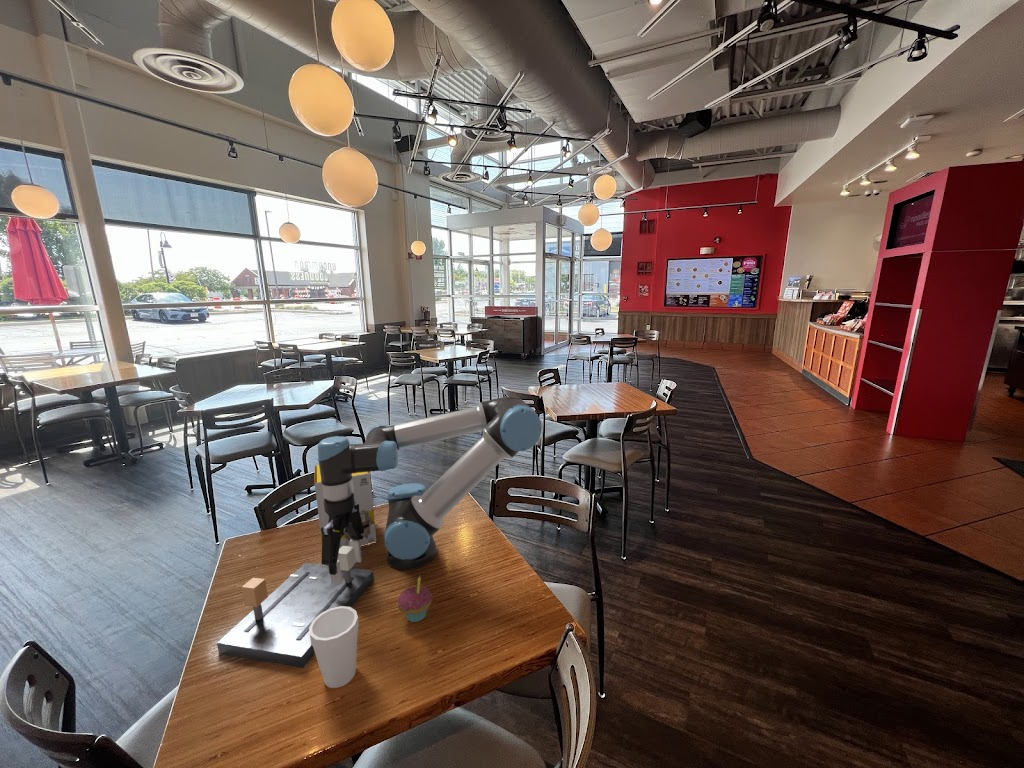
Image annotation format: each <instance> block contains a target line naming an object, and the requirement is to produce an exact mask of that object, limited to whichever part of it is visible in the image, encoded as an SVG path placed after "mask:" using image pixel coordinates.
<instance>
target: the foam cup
mask: <svg viewBox="0 0 1024 768" xmlns="http://www.w3.org/2000/svg"><path fill="white" fill-rule="evenodd" d="M359 627H360V624H359V616H358V613H357V610H356V609H354V608H353V607H352V608H351V607H345V606H339V607H335V608H331V609H329V610H327V611H325V612H323V613H321V614H320V615H318V616H317V617H316V618H315V619H314V620H313V621H312V623H311V625H310V627H309V632H310V640H311V645H312V646H313V648H314V652H315V654H314V656H315V658H316V661H317V663H318V667H319V670H320V673H321V677H322V679H323V682H324V685H326V686H327V687H328V688H329V689H337V688H341V687H343V686H346V685H347V684H348V683H350V682H351V681H352V680H353V678H354V677H355V674H356V670H357V655H358V654H357V653H358V636H359V635H358V633H359Z"/></svg>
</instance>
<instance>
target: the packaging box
mask: <svg viewBox="0 0 1024 768" xmlns="http://www.w3.org/2000/svg"><path fill="white" fill-rule="evenodd" d="M371 479H372V478H371V472H360V473H352V480H353V488H354V492H353V493H354V499H355V504H359V512H360V516H361V520H362V524H363V528H364V533H363V534H361V535H363V539H360V546H361V545H365V544H368V543H372V542H376V541H377V531H376V522H375V520H376V519H375V512H374V511H375V510H374V502H373V501H374V500H373V488H372V480H371ZM314 490H315V497H316V506H317V512H318V514H317V515H318V524H319V531H320V540H322V533H321V527H322V526H325V527H326V526H327V525H328V521H329V516H328V514H327V513H326V512H325V510H324V501H323V499H324V497H323V491H322V482H321V475H320V467H319V464H315V465H314ZM358 529H359V528H358ZM334 531H335V532H339V531H337V530H334ZM350 540H353V539H352V538H351V537H350V535H349V533H348V532H347V530H346V528H344V533H343V535H342V536H341V541H340V547H339V549H340V548H341V547H342V546H350V542H349V541H350Z"/></svg>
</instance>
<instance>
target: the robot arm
mask: <svg viewBox="0 0 1024 768" xmlns="http://www.w3.org/2000/svg"><path fill="white" fill-rule="evenodd" d="M542 429H543V428H542V421H541V419H540V417H539V415H538V413H537V412H536V411H535V410H534V409H533V408H532V407H531V406H529V405H528V404H527V403H526V402H525V401H524V399H521V398H519V397H517V396H511V395H510V396H503V397H498V398H494V399H493V398H492V399H490V400H486V401H481V402H479V403H478V404H477V406H473V407H469V408H464V409H460V410H455V411H451V412H447V413H443V414H438V415H433V416H429V417H426V418H420V419H415V420H412V421H408V422H403V423H398V424H394V425H389V426H388V425H384V424H378V425H375V426H374V427H372V428H371V429H370V430H369V431H368V433H367V435H366V437H365V441H364V442H363V443H357V444H356V443H350V440H349V439H348V437H346V436H342V435H341V436H339V435H335V436H328V437H326V438H323V439H322V440H320V441H319V442H318V443H317V456H318V458H317V461H318V465H319V467H320V475H321V482H322V491H323V497H324V499H323V501H324V510H325V512H326V513H327V514H328V516H329V521H328V525H327V526H326V527H325V526H322V527H321V531H320V534H321V533H322V539H321V565H328V566H329V573H330V576H331V583H334V584H341V583H342V575H341V567H340V560H338V553H339V547H340V541H341V536H342V535H343V533H344V528H346V530H347V532H348V533H349V535H350V537H351V538H352V539H353V540H350V541H349V542H350V547H354V553H355V562H356V563H361V562H362V552H361V547H360V539H363V535H361V534H363V533H364V528H363V524H362V520H361V516H360V512H359V504H355V499H354V493H353V492H354V488H353V480H352V473H360V472H370V473H371V472H379V471H382V472H384V471H387V470H389V471H390V470H393V469H396V468H397V467H398V465H399V454H398V453H399V452H398V451H401V450H404V449H409V448H412V447H416V446H422V445H426V444H431V443H435V442H439V441H442V440H447V439H451V438H456V437H461V436H465V435H469V434H473V433H477V432H482V437H480V439H478V440H477V441H476V442H475V443H474V444H473V445H472V446H471V447H470V448H469V449H468V450H467V451H466V452H465V453H464V454H463V455H461V457H460V458H459V459H457V460H456V462H454V463H453V464H452V465H451V467H449V468H448V469H447V470H446V471H445V472H444V473H443V474H442V475H441V476H439V478H438V479H437V480H436V481H435V482H434V483H433V484H432V485H431V486H430V487H428V489H427V487H426V486H425V485H424V484H421V483H417V482H416V483H414V482H413V483H412V482H411V483H403V484H399V485H396V486H394V487H391V488H390V489H389V490H388V493H387V501H388V513H387V519H386V525H385V529H384V535H383V536H384V545H385V548H386V557H387V558H386V560H387V563H388V565H389V566H390V567H392V568H394V569H397V570H403V571H405V570H407V571H408V570H416V569H418V568H421V567H424V566H426V565H427V564H429V563H431V562H432V561H433V560H434V559H435V557H436V555H437V544H436V541H435V539H434V537H433V536H434V535H435V534H436V533H437V532H439V530H440V529H441V528H442V526H443V518H445V516H447V514H448V513H449V512H450V511H451V510H452V509H454V508H455V506H457V505H458V504H459V503H460V502H461V501H462V500H463V499H464V498H465V497H466V496H467V495H468V494H469V493H470V492H471V491H472V490H473V489H474V488H475V487H476V486H477V485H478V484H479V483H481V481H482V480H484V479H485V477H486V476H488V475H489V474H490V473H491V471H493V469H494V468H495V467H497V466H498V465H499V464H500V463H501V462H502V461H503V460H504V459H513V458H514V457H515V456H516V455H517V454H518V453H519V452H524V451H525V452H526V451H527V450H530V449H532V448H533V447H534V446H536V444H537V443H538V442H539V440H540V438H541V436H542ZM358 528H359V529H358ZM334 530H337V531H339V532H335V531H334Z"/></svg>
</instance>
